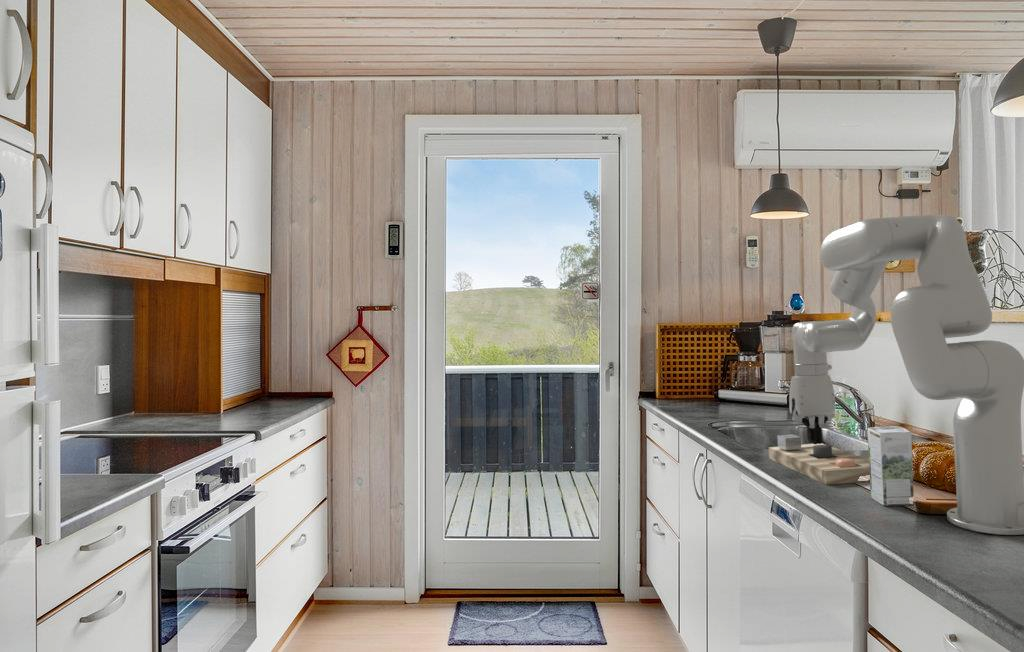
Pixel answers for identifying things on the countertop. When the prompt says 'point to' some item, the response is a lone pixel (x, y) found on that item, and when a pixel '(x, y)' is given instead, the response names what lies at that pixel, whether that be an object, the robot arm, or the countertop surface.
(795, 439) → the steel slider
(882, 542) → the countertop surface
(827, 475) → the light wooden board
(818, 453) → the black button
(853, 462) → the terracotta button
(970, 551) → the countertop surface
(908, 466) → the syrup box
